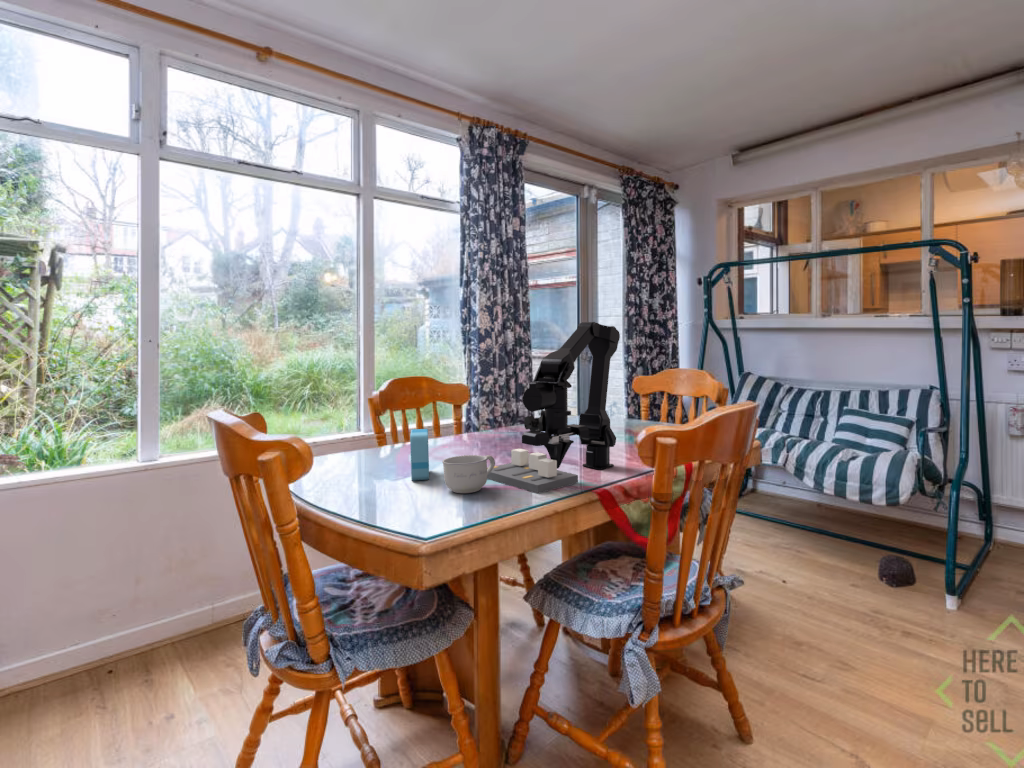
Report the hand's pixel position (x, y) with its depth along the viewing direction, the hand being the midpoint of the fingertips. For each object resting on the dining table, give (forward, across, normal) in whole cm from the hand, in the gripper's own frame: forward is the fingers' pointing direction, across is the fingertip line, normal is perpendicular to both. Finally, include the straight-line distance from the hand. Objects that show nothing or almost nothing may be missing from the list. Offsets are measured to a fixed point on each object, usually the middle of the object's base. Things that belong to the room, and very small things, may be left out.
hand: (556, 468), depth 146 cm
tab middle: (+1, 0, -7) cm, 7 cm away
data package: (+4, +21, -30) cm, 37 cm away
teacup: (+4, +19, -10) cm, 22 cm away
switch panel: (+4, +3, -7) cm, 9 cm away
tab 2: (+1, +3, 0) cm, 3 cm away
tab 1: (+1, 0, -14) cm, 14 cm away
